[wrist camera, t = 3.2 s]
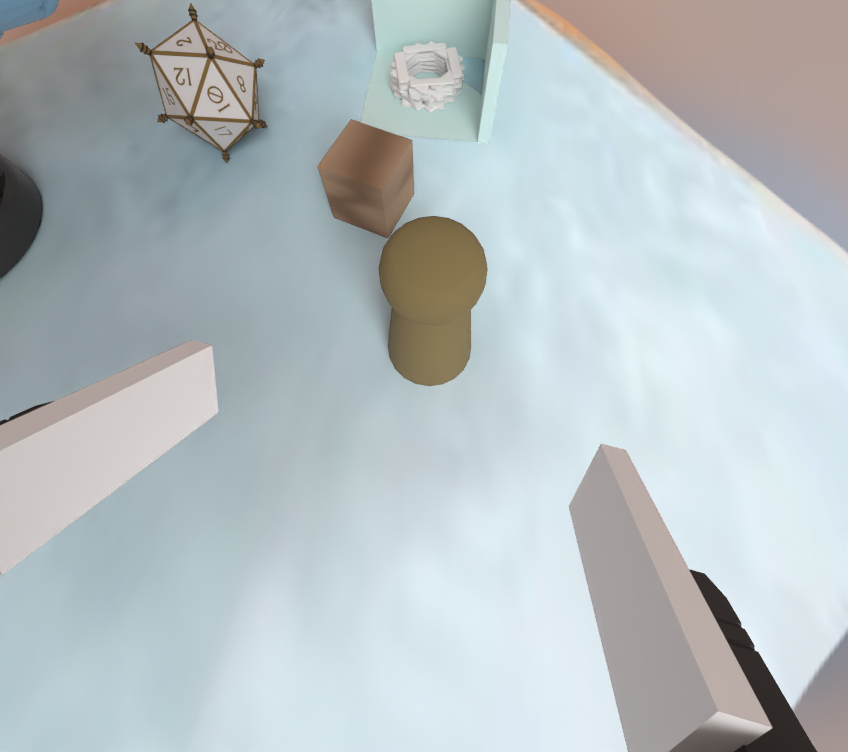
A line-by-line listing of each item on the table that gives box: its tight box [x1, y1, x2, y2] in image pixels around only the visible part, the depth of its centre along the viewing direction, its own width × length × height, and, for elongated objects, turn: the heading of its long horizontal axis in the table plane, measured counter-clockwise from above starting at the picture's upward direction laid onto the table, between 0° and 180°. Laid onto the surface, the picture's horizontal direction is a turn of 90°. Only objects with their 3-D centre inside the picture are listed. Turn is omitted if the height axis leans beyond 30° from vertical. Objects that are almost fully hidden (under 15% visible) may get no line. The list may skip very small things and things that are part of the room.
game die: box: [135, 4, 267, 163], centre depth 29 cm, size 9×8×10 cm
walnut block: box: [317, 119, 414, 238], centre depth 28 cm, size 5×5×5 cm
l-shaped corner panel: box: [360, 0, 511, 143], centre depth 31 cm, size 12×12×8 cm
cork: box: [379, 216, 487, 386], centre depth 21 cm, size 6×6×11 cm
